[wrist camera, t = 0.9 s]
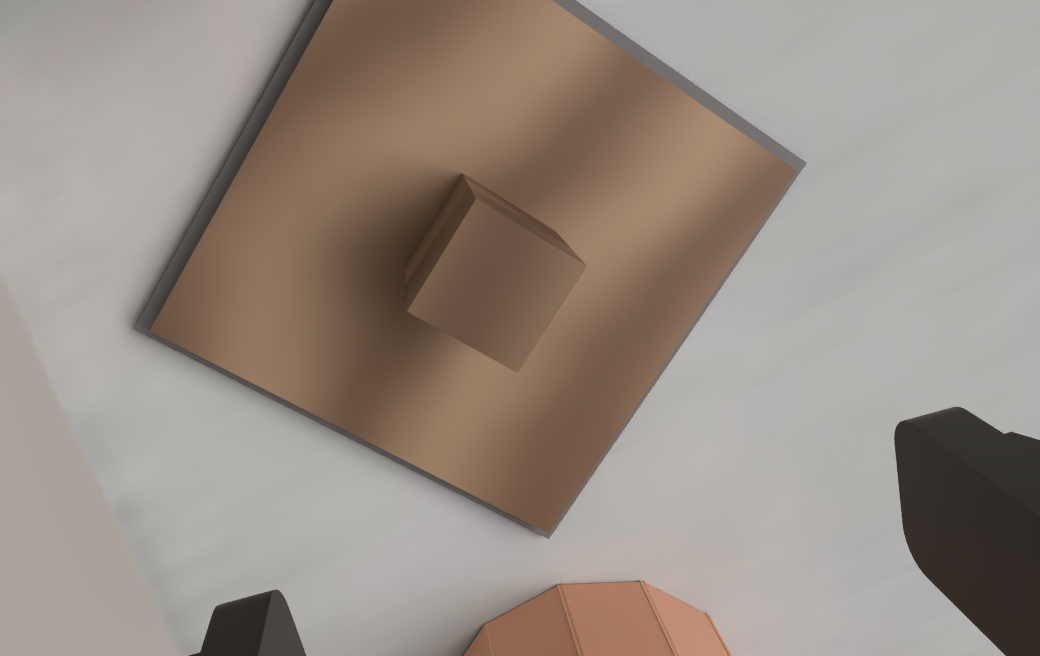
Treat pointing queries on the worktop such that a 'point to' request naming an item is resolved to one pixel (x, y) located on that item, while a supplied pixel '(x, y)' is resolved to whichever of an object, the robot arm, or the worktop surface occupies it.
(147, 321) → the charcoal mat
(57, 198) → the worktop surface
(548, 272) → the walnut lid
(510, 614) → the terracotta bowl
